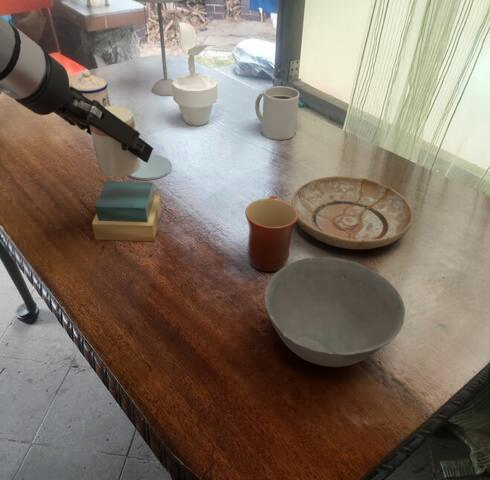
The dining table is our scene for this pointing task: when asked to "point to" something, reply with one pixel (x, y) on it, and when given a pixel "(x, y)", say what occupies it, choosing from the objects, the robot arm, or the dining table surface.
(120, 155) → the canister
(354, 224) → the ceramic bowl
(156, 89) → the lamp
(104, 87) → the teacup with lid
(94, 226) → the stack
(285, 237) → the mug
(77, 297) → the dining table surface
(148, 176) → the coaster
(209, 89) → the potted plant
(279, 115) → the mug
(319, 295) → the bowl
